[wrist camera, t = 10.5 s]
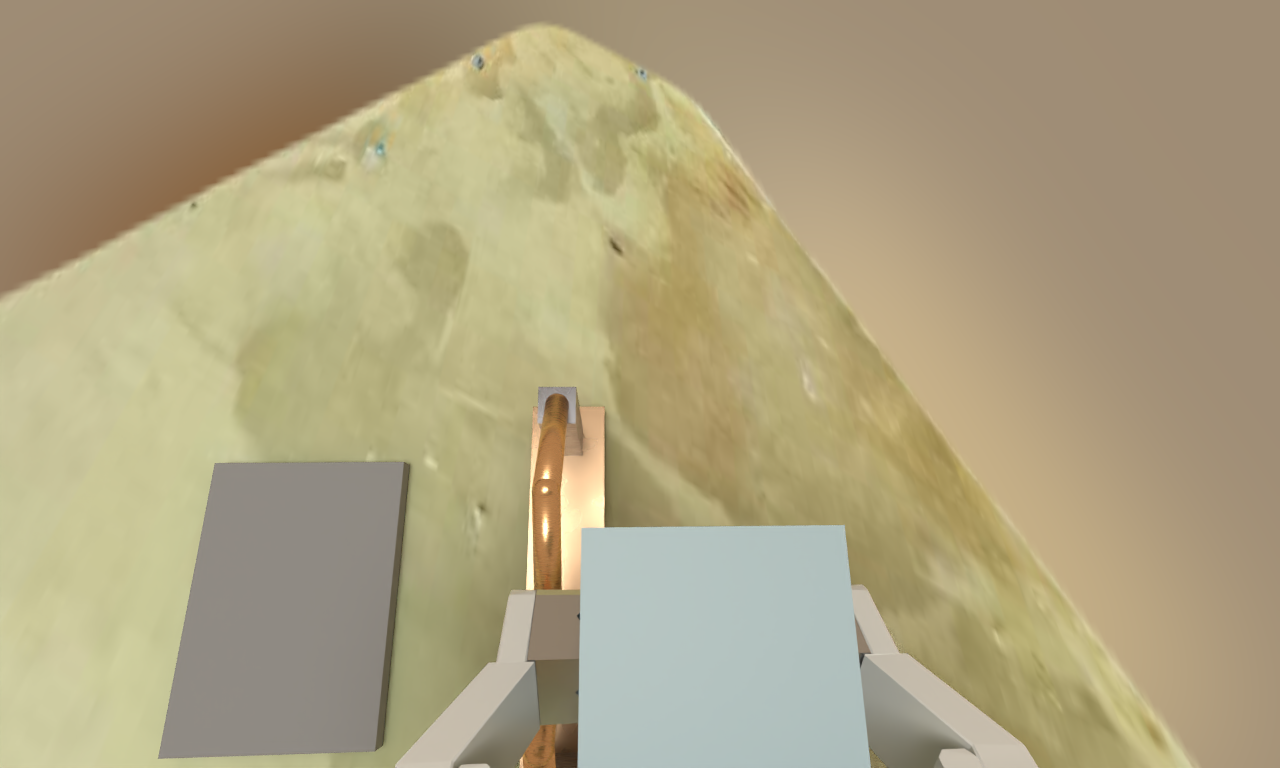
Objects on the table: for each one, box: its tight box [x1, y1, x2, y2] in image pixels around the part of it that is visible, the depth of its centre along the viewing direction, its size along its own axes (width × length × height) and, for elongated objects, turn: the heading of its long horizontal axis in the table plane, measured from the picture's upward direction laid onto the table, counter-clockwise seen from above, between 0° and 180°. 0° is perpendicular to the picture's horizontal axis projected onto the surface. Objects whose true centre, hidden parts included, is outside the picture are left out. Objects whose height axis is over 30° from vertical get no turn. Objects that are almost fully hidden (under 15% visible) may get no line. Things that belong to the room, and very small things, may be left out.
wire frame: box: [520, 387, 605, 768], centre depth 26 cm, size 20×4×14 cm, turn 1°
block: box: [578, 525, 871, 768], centre depth 12 cm, size 4×4×8 cm
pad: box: [158, 462, 410, 759], centre depth 31 cm, size 14×10×1 cm
